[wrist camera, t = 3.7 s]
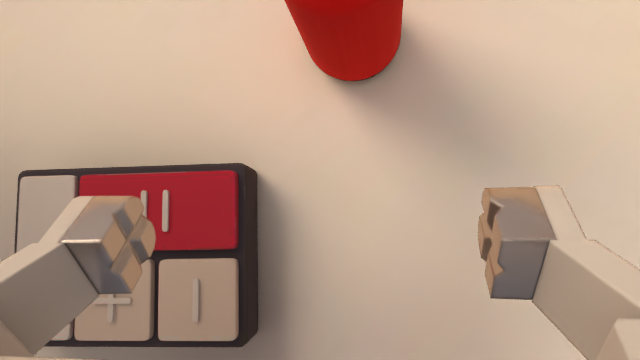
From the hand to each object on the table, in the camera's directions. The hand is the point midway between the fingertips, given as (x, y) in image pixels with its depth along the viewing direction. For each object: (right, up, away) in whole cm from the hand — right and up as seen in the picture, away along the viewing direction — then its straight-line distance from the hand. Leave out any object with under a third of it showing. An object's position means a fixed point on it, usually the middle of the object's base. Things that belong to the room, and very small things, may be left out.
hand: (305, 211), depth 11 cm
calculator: (-11, -4, +21) cm, 24 cm away
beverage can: (+3, +10, +20) cm, 23 cm away
